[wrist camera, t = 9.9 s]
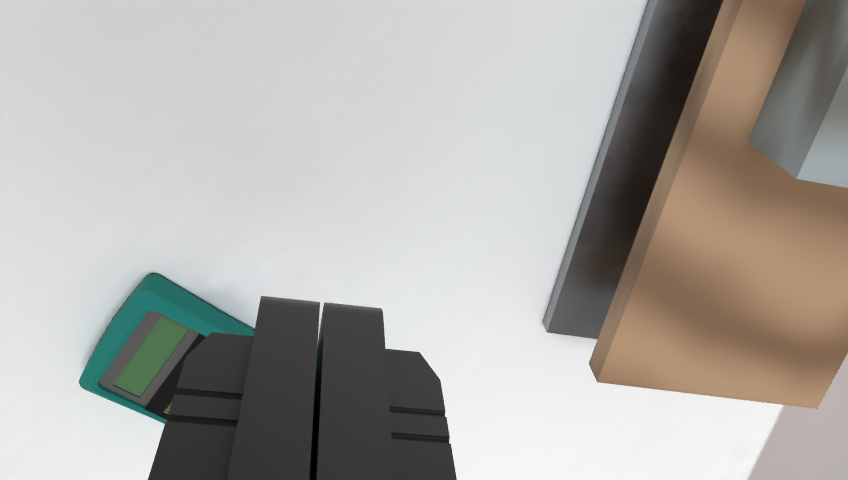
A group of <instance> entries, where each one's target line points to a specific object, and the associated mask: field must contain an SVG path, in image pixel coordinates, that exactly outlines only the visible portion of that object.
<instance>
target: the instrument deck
mask: <svg viewBox="0 0 848 480" xmlns="http://www.w3.org/2000/svg"><path fill="white" fill-rule="evenodd" d="M847 353H848V0H723V3H722V5H721V8H720V11H719V14H718V16H717V19H716V22H715V24H714V27H713V30H712V32H711V35H710V38H709V41H708V43H707V46H706V49H705V51H704V54H703V57H702V59H701V62H700V65H699V68H698V70H697V73H696V76H695V78H694V81H693V84H692V86H691V89H690V92H689V95H688V97H687V100H686V103H685V105H684V108H683V111H682V113H681V116H680V119H679V122H678V124H677V127H676V130H675V132H674V135H673V138H672V140H671V143H670V146H669V149H668V151H667V154H666V157H665V159H664V162H663V165H662V167H661V170H660V173H659V176H658V178H657V181H656V184H655V186H654V189H653V192H652V194H651V197H650V200H649V202H648V205H647V208H646V211H645V213H644V216H643V219H642V221H641V224H640V227H639V229H638V232H637V235H636V238H635V240H634V243H633V246H632V248H631V251H630V254H629V256H628V259H627V262H626V265H625V267H624V270H623V273H622V275H621V278H620V281H619V283H618V286H617V289H616V292H615V294H614V297H613V300H612V302H611V305H610V308H609V310H608V313H607V316H606V319H605V321H604V324H603V327H602V329H601V332H600V335H599V337H598V340H597V343H596V346H595V348H594V351H593V354H592V356H591V359H590V362H589V365H590V367H591V369H592V372H593V374H594V376H595V378H596V380H597V382H601V383H609V384H617V385H626V386H634V387H642V388H650V389H659V390H667V391H675V392H683V393H691V394H700V395H708V396H716V397H724V398H733V399H741V400H749V401H757V402H766V403H774V404H782V405H790V406H799V407H807V408H815V409H817V408H818V406H819V404H820V403H821V401H822V399H823V397H824V395H825V393H826V392H827V390H828V388H829V386H830V384H831V383H832V380H833V379H834V377H835V375H836V373H837V372H838V370H839V368H840V366H841V364H842V362H843V361H844V359H845V357H846V355H847Z"/></svg>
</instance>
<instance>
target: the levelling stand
mask: <svg viewBox="0 0 848 480" xmlns="http://www.w3.org/2000/svg"><path fill="white" fill-rule="evenodd" d="M722 3H723V0H649V1H648V4H647V7H646V10H645V13H644V16H643V19H642V22H641V25H640V28H639V31H638V34H637V37H636V40H635V43H634V46H633V49H632V52H631V56H630V59H629V62H628V65H627V68H626V71H625V74H624V77H623V80H622V83H621V86H620V89H619V92H618V95H617V98H616V101H615V104H614V107H613V110H612V113H611V116H610V119H609V122H608V126H607V129H606V132H605V135H604V138H603V141H602V144H601V147H600V150H599V153H598V156H597V159H596V162H595V165H594V168H593V171H592V174H591V177H590V180H589V183H588V186H587V189H586V192H585V196H584V199H583V202H582V205H581V208H580V211H579V214H578V217H577V220H576V223H575V226H574V229H573V232H572V235H571V238H570V241H569V244H568V247H567V250H566V253H565V256H564V259H563V262H562V266H561V269H560V272H559V275H558V278H557V281H556V284H555V287H554V290H553V293H552V296H551V299H550V302H549V305H548V308H547V311H546V314H545V317H544V320H543V324H544V326H545V329H546V332H548V333H556V334H563V335H571V336H579V337H586V338H594V339H598V337H599V335H600V332H601V329H602V327H603V324H604V321H605V319H606V316H607V313H608V310H609V308H610V305H611V302H612V300H613V297H614V294H615V292H616V289H617V286H618V283H619V281H620V278H621V275H622V273H623V270H624V267H625V265H626V262H627V259H628V256H629V254H630V251H631V248H632V246H633V243H634V240H635V238H636V235H637V232H638V229H639V227H640V224H641V221H642V219H643V216H644V213H645V211H646V208H647V205H648V202H649V200H650V197H651V194H652V192H653V189H654V186H655V184H656V181H657V178H658V176H659V173H660V170H661V167H662V165H663V162H664V159H665V157H666V154H667V151H668V149H669V146H670V143H671V140H672V138H673V135H674V132H675V130H676V127H677V124H678V122H679V119H680V116H681V113H682V111H683V108H684V105H685V103H686V100H687V97H688V95H689V92H690V89H691V86H692V84H693V81H694V78H695V76H696V73H697V70H698V68H699V65H700V62H701V59H702V57H703V54H704V51H705V49H706V46H707V43H708V41H709V38H710V35H711V32H712V30H713V27H714V24H715V22H716V19H717V16H718V14H719V11H720V8H721V5H722Z"/></svg>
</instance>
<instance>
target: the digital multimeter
mask: <svg viewBox="0 0 848 480" xmlns="http://www.w3.org/2000/svg"><path fill="white" fill-rule="evenodd" d="M211 332H216V333H227V334H237V335H247V336H254V332H255V330H253V329H252V328H250V327H248V326H246V325H244V324H242V323H241V322H239V321H237V320H235V319H233V318H231V317H229V316H228V315H226V314H224V313H222V312H221V311H219V310H217V309H216V308H214V307H212V306H210V305H209V304H207V303H205V302H204V301H202V300H200V299H199V298H197V297H195V296H194V295H192V294H190V293H189V292H187V291H185V290H184V289H182V288H180V287H179V286H177V285H175V284H174V283H172V282H170V281H168V280H167V279H165V278H163V277H162V276H160V275H157V274H149V275H148V276H146V277H145V278H144V279H143V281H142V282H141V283H140V284H139V285H138V287H137V288H136V289H135V290H134V291H133V292H132V294H131V295H130V296H129V298H128V299H127V300H126V301H125V303H124V304H123V305H122V306H121V308H120V309H119V311H118V312H117V313H116V315H115V316H114V318H113V319H112V321H111V322H110V324H109V325H108V327H107V329H106V330H105V332H104V334H103V335H102V337H101V339H100V341H99V342H98V344H97V346H96V348H95V350H94V352H93V353H92V355H91V357H90V359H89V361H88V363H87V365H86V367H85V369H84V371H83V373H82V375H81V377H80V380H79V384H80V386H81V387H82V388H83V389H85V390H87V391H90V392H92V393H94V394H97V395H99V396H101V397H104V398H106V399H108V400H111V401H113V402H116V403H118V404H120V405H123V406H125V407H127V408H130V409H132V410H134V411H137V412H139V413H141V414H144V415H146V416H149V417H151V418H153V419H155V420H158V421H160V422H162V423H164V424H165V423H166V421H167V419H168V413H169V410H170V406H171V403H172V400H173V397H174V394H175V393H176V387H177V384H178V380H179V377H180V374H181V371H182V367H183V364H184V361H185V358H186V356H187V355H188V354H189V353H190V352H191V351H192V350H193V349H194V348H195V347H197V346H198V345H199V344H200V343H201V342H202V341H203V340H204V339H205V338H206V337H207V336H208V335H209V334H210V333H211ZM201 334H202V335H201ZM203 335H204V336H203ZM205 336H206V337H205Z"/></svg>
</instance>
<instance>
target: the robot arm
mask: <svg viewBox="0 0 848 480" xmlns="http://www.w3.org/2000/svg"><path fill="white" fill-rule="evenodd" d="M319 309H320V302H313V301H304V300H295V299H285V298H276V297H267V296H261V300H260V305H259V310H258V316H257V321H256V327H255V332H254V336H247V335H237V334H227V333H216V332H211V333H210V334H209V335H208V336H207V337H206V338H205V339H204V340H203V341H202V342H201V343H200V344H199V345H198V346H197V347H195V348H194V349H193V350H192V351H191V352H190V353H189V354H188V355H187V356H186V358H185V361H184V364H183V367H182V371H181V374H180V377H179V380H178V384H177V387H176V393H175V394H174V397H173V400H172V403H171V406H170V410H169V413H168V419H167V421H166V423H165V426H164V429H163V432H162V436H161V439H160V442H159V446H158V449H157V452H156V455H155V459H154V462H153V465H152V468H151V472H150V475H149V478H148V480H457V479H456V473H455V467H454V461H453V455H452V449H451V444H449V431H448V424H447V418H446V417H445V406H444V400H443V394H442V388H441V382H440V379H439V378H438V376H437V375H436V374H435V372H434V371H433V370H432V368H431V367H430V366H429V364H428V363H427V362H426V360H425V359H424V358H423V356H422V355H421V354H420V352H412V351H402V350H392V349H385V337H384V322H383V311H382V309H381V308H372V307H362V306H353V305H344V304H334V303H324V307H323V312H322V319H321V325H320V332H319V339H318V326H319ZM317 343H318V346H317Z"/></svg>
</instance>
